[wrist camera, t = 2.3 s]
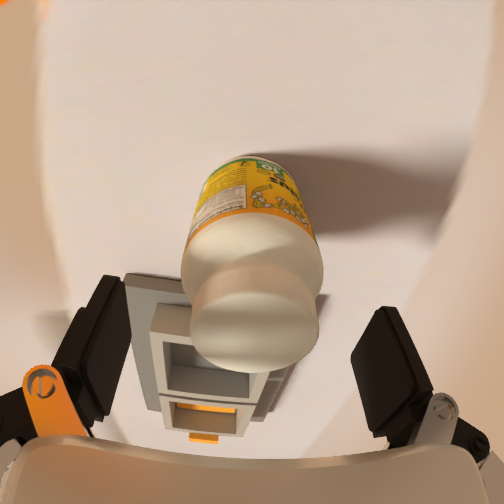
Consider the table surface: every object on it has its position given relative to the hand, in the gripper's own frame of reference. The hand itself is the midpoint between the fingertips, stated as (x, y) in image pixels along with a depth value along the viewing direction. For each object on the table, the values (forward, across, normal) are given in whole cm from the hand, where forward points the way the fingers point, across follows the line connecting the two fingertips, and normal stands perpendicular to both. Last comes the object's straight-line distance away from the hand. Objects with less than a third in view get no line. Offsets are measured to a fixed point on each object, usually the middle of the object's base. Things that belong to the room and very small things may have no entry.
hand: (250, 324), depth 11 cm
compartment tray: (+9, +1, +15) cm, 17 cm away
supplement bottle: (+8, 0, -1) cm, 8 cm away
